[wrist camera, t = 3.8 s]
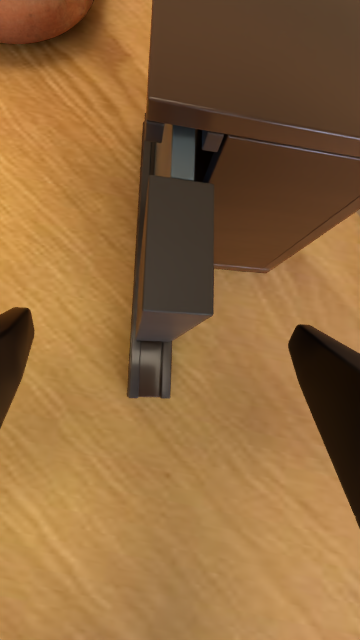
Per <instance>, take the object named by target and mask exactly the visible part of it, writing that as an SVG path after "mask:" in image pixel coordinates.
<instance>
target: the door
mask: <svg viewBox="0 0 360 640" xmlns="http://www.w3.org/2000/svg"><path fill="white" fill-rule="evenodd" d="M194 168H195V129H194V128H188V127H183V126H177V125H171V124H165V125H164V132H163V139H162V143H155V163H154V175H150V176H149V179H148V189H147V199H146V208H145V218H144V228H143V238H142V248H141V257H140V267H139V282H138V300H137V318H136V336H135V340H139V341H161V342H171V341H173V340H174V339H176V338H177V337H179V336H180V335H182V334H184V333H185V332H187V331H188V330H190V329H192V328H193V327H195V326H196V325H198V324H200V323H201V322H203V321H204V320H206V319H208V318H209V317H211V316H212V315H213V297H214V184H211V183H204V182H197V181H194Z"/></svg>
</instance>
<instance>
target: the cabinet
mask: <svg viewBox="0 0 360 640" xmlns="http://www.w3.org/2000/svg"><path fill="white" fill-rule="evenodd" d="M165 124H171V125H177V126H183V127H188V128H194V129H195V168H194V181H197V182H204V183H211V184H214V268H216V269H227V270H238V271H249V272H260V273H267V272H269V271H270V270H272V269H273V268H275V267H276V266H278V265H279V264H281V263H282V262H283V261H285V260H286V259H288V258H289V257H291V256H292V255H294V254H295V253H297V252H298V251H299V250H301V249H302V248H304V247H305V246H307V245H308V244H310V243H311V242H312V241H314V240H315V239H317V238H318V237H320V236H321V235H323V234H324V233H326V232H327V231H328V230H330V229H331V228H333V227H334V226H336V225H337V224H339V223H340V222H342V221H343V220H344V219H346V218H347V217H349V216H350V215H352V214H353V213H355V212H356V211H358V210H359V209H360V0H152V17H151V34H150V52H149V69H148V87H147V104H146V113H145V121H144V122H143V133H142V150H141V167H140V184H139V201H138V218H137V235H136V252H135V269H134V286H133V303H132V320H131V337H130V354H129V371H128V388H127V396H128V397H129V398H138V397H160V398H162V399H169V398H170V389H171V359H172V341H171V342H161V341H139V340H135V336H136V318H137V300H138V282H139V267H140V257H141V248H142V238H143V228H144V218H145V208H146V199H147V189H148V179H149V176H150V175H154V163H155V143H162V139H163V132H164V125H165Z"/></svg>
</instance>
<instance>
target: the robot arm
mask: <svg viewBox="0 0 360 640" xmlns="http://www.w3.org/2000/svg"><path fill="white" fill-rule="evenodd" d="M33 338H34V325H33V320H32V315H31V311H30V310H29V309H28V308H18V307H15V308H12V309H10V310H8V311H6V312H5V313H3V314H1V315H0V428H1V426H2V423H3V421H4V419H5V416H6V414H7V412H8V410H9V407H10V405H11V403H12V400H13V398H14V396H15V393H16V391H17V389H18V386H19V384H20V382H21V379H22V376H23V373H24V370H25V366H26V363H27V359H28V356H29V352H30V349H31V345H32V342H33ZM288 348H289V352H290V355H291V359H292V362H293V365H294V369H295V372H296V375H297V379H298V382H299V384H300V387H301V390H302V392H303V394H304V397H305V399H306V402H307V404H308V406H309V409H310V411H311V413H312V416H313V418H314V421H315V423H316V425H317V428H318V430H319V432H320V435H321V437H322V440H323V442H324V444H325V447H326V449H327V451H328V454H329V456H330V459H331V461H332V463H333V466H334V468H335V470H336V473H337V475H338V478H339V480H340V482H341V485H342V487H343V490H344V492H345V494H346V497H347V499H348V501H349V504H350V506H351V509H352V511H353V513H354V515H355V516H356V517H355V518H356V521H357V523H358V526H359V528H360V354H359V353H357V352H356V351H354V350H352V349H351V348H349V347H347V346H345V345H344V344H342V343H340V342H338V341H337V340H335V339H333V338H331V337H330V336H328V335H326V334H324V333H323V332H321V331H319V330H317V329H316V328H314V327H312V326H310V325H301V324H300V325H297V326H296V328H295V330H294V332H293V334H292V336H291V338H290V340H289V343H288Z"/></svg>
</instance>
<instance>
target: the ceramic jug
mask: <svg viewBox="0 0 360 640" xmlns="http://www.w3.org/2000/svg"><path fill="white" fill-rule="evenodd" d="M93 1H94V0H0V43H8V44H27V43H35V42H40V41H44V40H48V39H51V38H54V37H56V36H59V35H61V34H63V33H65V32H66V31H68V30H69V29H71V28H72V27H73V26H75V25H76V24H77V23H78V22H79V21H80V20H81V19H82V18H83V17H84V16H85V15H86V13H87V12H88V10H89V9H90V7H91V5H92V3H93Z"/></svg>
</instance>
